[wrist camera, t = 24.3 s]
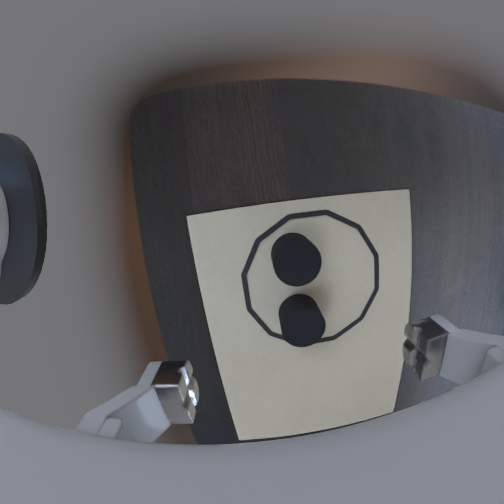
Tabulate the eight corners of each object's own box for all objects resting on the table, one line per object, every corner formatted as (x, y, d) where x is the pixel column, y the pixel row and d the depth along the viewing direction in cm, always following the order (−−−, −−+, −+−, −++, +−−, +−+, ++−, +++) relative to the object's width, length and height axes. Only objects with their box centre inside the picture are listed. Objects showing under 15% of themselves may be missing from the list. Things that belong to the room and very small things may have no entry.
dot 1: (273, 277, 26) (276, 290, 23) (268, 235, 26) (270, 243, 22) (315, 270, 26) (323, 283, 23) (311, 229, 25) (319, 236, 22)
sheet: (239, 437, 32) (239, 440, 32) (187, 215, 26) (186, 216, 25) (391, 409, 32) (393, 412, 31) (406, 189, 25) (409, 189, 24)
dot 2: (280, 332, 28) (283, 350, 24) (276, 296, 27) (279, 312, 24) (318, 326, 28) (326, 343, 24) (316, 290, 27) (324, 304, 23)
